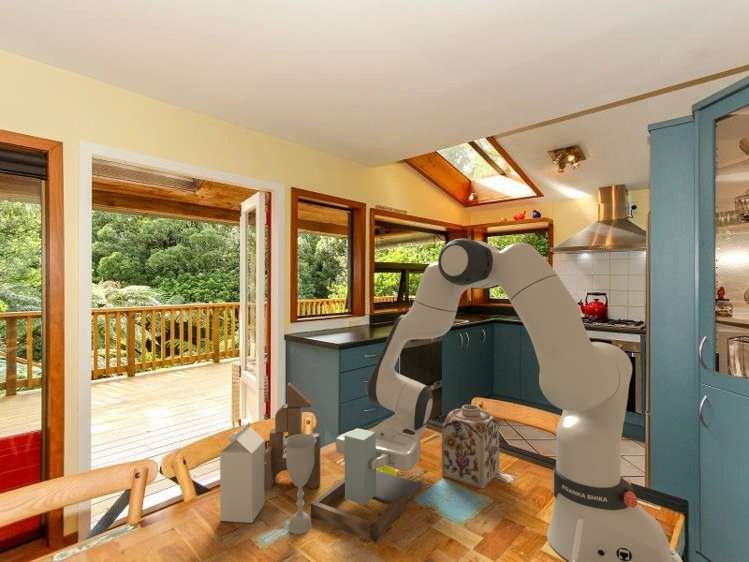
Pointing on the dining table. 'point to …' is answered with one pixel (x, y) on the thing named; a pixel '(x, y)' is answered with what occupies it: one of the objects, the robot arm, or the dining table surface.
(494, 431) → the decorative jar
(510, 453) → the dining table surface
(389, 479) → the dark grey flat plate
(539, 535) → the dining table surface
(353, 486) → the block
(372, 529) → the wooden rectangular frame
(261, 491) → the milk carton
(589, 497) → the robot arm
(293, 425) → the wooden toy
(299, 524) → the chalice
